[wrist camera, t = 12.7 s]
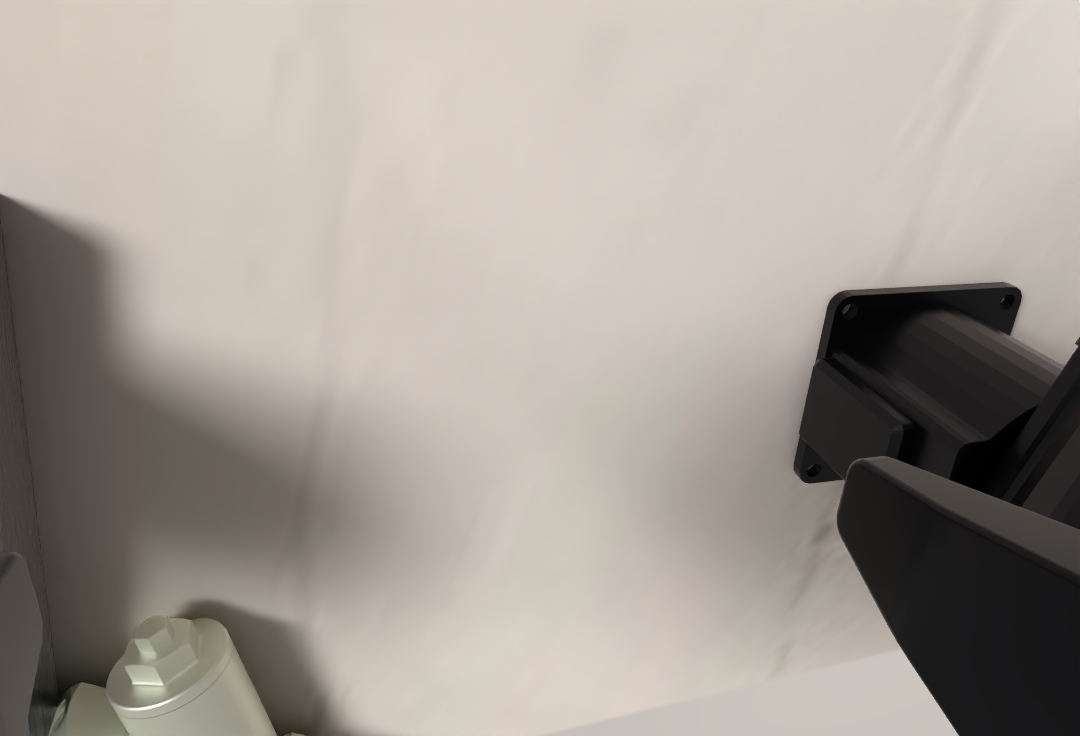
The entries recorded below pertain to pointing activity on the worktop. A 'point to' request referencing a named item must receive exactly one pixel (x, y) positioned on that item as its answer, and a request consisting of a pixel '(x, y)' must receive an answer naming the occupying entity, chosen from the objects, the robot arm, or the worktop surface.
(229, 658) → the pipe fitting
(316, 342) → the worktop surface
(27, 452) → the dark gray rack frame
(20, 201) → the worktop surface
